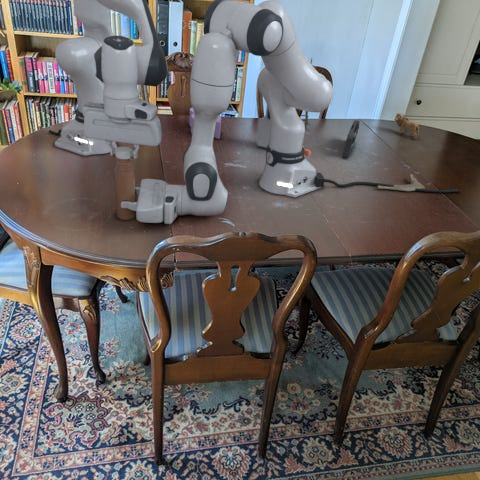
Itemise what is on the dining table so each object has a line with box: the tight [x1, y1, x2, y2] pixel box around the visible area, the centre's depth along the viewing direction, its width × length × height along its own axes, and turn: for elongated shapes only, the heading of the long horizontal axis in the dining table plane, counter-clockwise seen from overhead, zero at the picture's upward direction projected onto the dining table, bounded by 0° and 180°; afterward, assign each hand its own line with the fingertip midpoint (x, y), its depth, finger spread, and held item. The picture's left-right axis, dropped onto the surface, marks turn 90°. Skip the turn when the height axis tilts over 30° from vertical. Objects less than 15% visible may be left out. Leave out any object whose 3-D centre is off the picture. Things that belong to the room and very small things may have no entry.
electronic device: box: [255, 105, 271, 150], centre depth 183 cm, size 12×8×30 cm, turn 71°
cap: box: [115, 146, 133, 159], centre depth 126 cm, size 4×4×2 cm
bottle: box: [113, 158, 137, 221], centre depth 131 cm, size 6×6×20 cm
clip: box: [188, 106, 222, 140], centre depth 199 cm, size 20×12×7 cm, turn 23°
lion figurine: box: [394, 112, 422, 140], centre depth 218 cm, size 15×5×9 cm, turn 50°
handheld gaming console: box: [342, 119, 361, 159], centre depth 194 cm, size 23×3×10 cm, turn 161°
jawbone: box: [376, 173, 426, 193], centre depth 169 cm, size 9×20×2 cm, turn 126°
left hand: (124, 156), depth 126 cm, fingers closed on cap, 4 cm apart
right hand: (122, 198), depth 133 cm, fingers closed on bottle, 5 cm apart
